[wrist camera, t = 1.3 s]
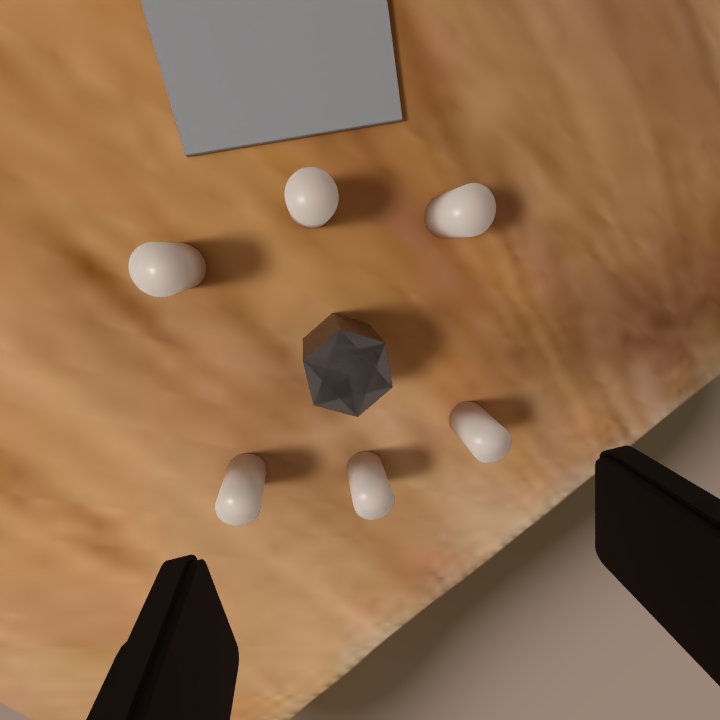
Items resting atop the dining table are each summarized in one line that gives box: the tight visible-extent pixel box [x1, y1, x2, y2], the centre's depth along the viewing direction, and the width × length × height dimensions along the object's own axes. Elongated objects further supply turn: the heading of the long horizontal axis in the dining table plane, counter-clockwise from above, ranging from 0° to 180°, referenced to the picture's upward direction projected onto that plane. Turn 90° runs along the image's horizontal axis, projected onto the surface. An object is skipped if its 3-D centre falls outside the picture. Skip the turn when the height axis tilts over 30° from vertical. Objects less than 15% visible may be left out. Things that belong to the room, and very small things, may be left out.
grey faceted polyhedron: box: [303, 313, 392, 417], centre depth 23 cm, size 5×4×5 cm
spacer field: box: [129, 167, 512, 526], centre depth 23 cm, size 21×19×4 cm
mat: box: [141, 0, 402, 157], centre depth 20 cm, size 9×12×1 cm
